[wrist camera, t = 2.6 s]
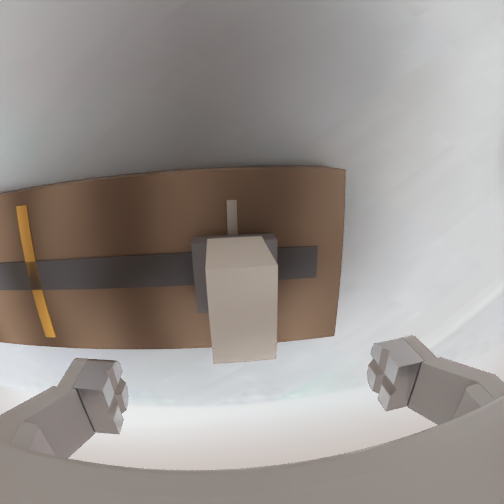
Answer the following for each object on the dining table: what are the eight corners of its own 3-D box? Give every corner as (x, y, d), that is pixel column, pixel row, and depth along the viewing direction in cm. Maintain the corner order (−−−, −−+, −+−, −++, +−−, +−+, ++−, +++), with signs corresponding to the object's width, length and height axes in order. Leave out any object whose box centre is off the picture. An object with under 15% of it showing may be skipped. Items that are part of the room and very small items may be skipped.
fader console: (10, 322, 19) (-8, 341, 16) (-18, 196, 16) (-43, 204, 13) (320, 313, 22) (334, 336, 19) (326, 166, 19) (346, 169, 16)
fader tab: (198, 306, 17) (194, 364, 12) (192, 233, 16) (183, 270, 11) (272, 301, 17) (294, 356, 12) (272, 229, 16) (299, 264, 11)
